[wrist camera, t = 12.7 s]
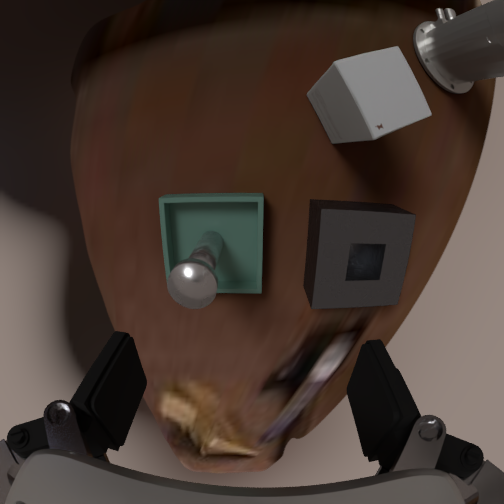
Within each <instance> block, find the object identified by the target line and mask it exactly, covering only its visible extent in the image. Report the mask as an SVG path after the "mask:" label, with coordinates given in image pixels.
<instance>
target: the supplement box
mask: <svg viewBox="0 0 504 504" xmlns="http://www.w3.org/2000/svg"><path fill="white" fill-rule="evenodd" d="M307 97H308V98H309V100H310V102H311V104H312V106H313V108H314V110H315V112H316V113H317V115H318V117H319V119H320V121H321V123H322V125H323V127H324V129H325V131H326V133H327V135H328V137H329V139H330V141H331V143H332V144H337V143H346V142H356V141H367V140H376V139H378V138H380V137H382V136H384V135H387V134H389V133H391V132H393V131H396V130H398V129H400V128H403V127H405V126H407V125H410V124H412V123H414V122H416V121H419V120H421V119H424V118H426V117H429V116H431V115H432V114H431V111H430V109H429V107H428V104H427V102H426V100H425V98H424V95H423V93H422V91H421V89H420V87H419V85H418V83H417V81H416V79H415V77H414V75H413V73H412V71H411V69H410V67H409V65H408V63H407V61H406V59H405V58H404V56H403V54H402V52H401V51H400V49H399V47H398V46H397V47H392V48H387V49H383V50H378V51H373V52H369V53H364V54H360V55H356V56H352V57H348V58H345V59H341V60H337V61H334V63H333V64H332V65H331V67H330V68H329V69H328V70H327V71H326V73H325V74H324V75H323V76H322V77H321V78H320V79H319V80H318V81H317V83H316V84H315V85H314V86H313V87H312V88H311V90H310V91H309V92H308V93H307Z"/></svg>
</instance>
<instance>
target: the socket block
mask: <svg viewBox="0 0 504 504" xmlns="http://www.w3.org/2000/svg"><path fill="white" fill-rule="evenodd" d="M415 217H416V215H415V214H413V213H411V212H409V211H406V210H404V209H402V208H400V207H397V206H395V205H392V204H380V203H367V202H352V201H335V200H314V199H310V208H309V224H308V239H307V251H306V263H305V274H304V285H303V286H304V289H305V292H306V295H307V298H308V301H309V303H310V306H311V309H327V308H351V307H369V306H384V305H397V304H398V300H399V296H400V293H401V289H402V285H403V281H404V276H405V272H406V267H407V263H408V258H409V253H410V248H411V242H412V237H413V231H414V224H415Z"/></svg>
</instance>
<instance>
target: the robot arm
mask: <svg viewBox="0 0 504 504" xmlns="http://www.w3.org/2000/svg"><path fill="white" fill-rule="evenodd" d="M444 11H445V15H446V18H447V20H448V21H447V20H445V15H444V12H443V10H442V9H436V14H437V17H438V20H437V21H436V22H430V21H429V22H424V23H422V24H420V25H419V26H418V27H417V28H416V29H415V31H414V35H413V42H414V48H415V51H416V54H417V56H418V59H419V61H420V63H421V64H422V66H423V68H424V69H425V71H426V72H427V73H428V75H429V76H430V77H431V78H432V79H433V80H434V81H435V82H436V83H437V84H438V85H439V86H440V87H442V88H443V89H445V90H446V91H449V92H451V93H455V94H461V93H466V92H467V91H469V90H470V89H471V88H472V86H473V84H474V81H477V80H483V79H489V78H496V77H503V76H504V0H493V1H491V2H488V3H486V4H484V5H481V6H479V7H477V8H474V9H472V10H470V11H468V12H466V13H463V14H461V15H459V16H457V17H456V14H455V11H454V10H452V9H445V10H444ZM146 386H147V380H146V376H145V374H144V371H143V368H142V365H141V362H140V359H139V356H138V352H137V349H136V346H135V343H134V339H133V337H130V335H129V333H125V332H118V331H115V332H114V333H113V335H112V336H111V338H110V339H109V341H108V342H107V344H106V345H105V347H104V348H103V350H102V351H101V353H100V354H99V356H98V358H97V359H96V360H95V362H94V363H93V365H92V366H91V368H90V370H89V371H88V373H87V374H86V376H85V378H84V379H83V381H82V382H81V384H80V386H79V387H78V389H77V391H76V393H75V394H74V396H73V398H72V399H71V401H70V403H69V402H67V401H64V400H56V401H54V402H51V403H50V404H49V405H47V407H46V408H45V411H44V417H42V418H39V419H36V420H33V421H30V422H26V423H23V424H19V425H16V426H14V427H13V428H11V430H10V431H9V433H8V435H7V440H6V441H5V440H4V439H3V440H1V441H0V504H504V472H502V471H501V470H500V469H499V468H497V467H496V466H495V465H494V464H492V463H491V462H490V461H488V460H486V461H484V460H483V459H484V457H483V452H482V450H481V449H480V448H479V447H478V446H476V445H474V444H472V443H469V442H467V441H464V440H461V439H459V438H456V437H454V436H451V435H449V434H446V426H445V424H444V423H443V421H442V420H441V419H440V418H438V417H436V416H433V415H425V416H422V417H421V415H420V413H419V411H418V408H417V406H416V404H415V402H414V400H413V398H412V395H411V393H410V391H409V389H408V387H407V385H406V383H405V381H404V379H403V377H402V375H401V373H400V371H399V370H398V369H397V368H395V366H394V364H393V362H392V360H391V358H390V356H389V354H388V352H387V350H386V348H385V346H384V344H383V342H382V341H381V340H380V339H379V340H368V341H366V343H365V344H363V345H362V346H361V349H360V352H359V355H358V358H357V361H356V364H355V367H354V370H353V373H352V375H351V378H350V381H349V383H348V386H347V395H348V399H349V402H350V406H351V409H352V413H353V416H354V420H355V424H356V427H357V431H358V435H359V439H360V443H361V447H362V451H363V454H364V456H365V457H367V456H368V460H369V462H371V461H375V460H378V461H379V465H380V468H379V469H378V471H377V473H376V475H375V476H370V477H365V478H360V479H355V480H349V481H342V482H336V483H329V484H320V485H311V486H300V487H278V488H250V487H247V488H246V487H229V486H218V485H208V484H200V483H192V482H186V481H180V480H175V479H169V478H164V477H160V476H154V475H151V474H147V473H143V472H139V471H135V470H131V469H128V468H124V467H121V466H118V465H114V464H111V463H110V462H109V460H108V457H107V455H106V452H107V449H108V448H110V449H113V450H116V451H118V450H119V447H120V446H123V445H124V443H125V440H126V437H127V434H128V432H129V429H130V427H131V424H132V422H133V419H134V416H135V413H136V411H137V409H138V406H139V404H140V401H141V399H142V396H143V394H144V391H145V389H146Z"/></svg>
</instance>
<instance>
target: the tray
mask: <svg viewBox="0 0 504 504" xmlns="http://www.w3.org/2000/svg"><path fill="white" fill-rule="evenodd" d="M263 202H264V196H263V193H199V194H168V195H164V196H162V197H160V198H159V208H160V222H161V233H162V244H163V253H164V262H165V270H166V278H167V280H168V277H169V274H170V273H171V271H172V270H173V268H174V267H175V265H176V264H177V263H179V262H180V261H182V260H185V259H188V258H189V256H190V255H191V253H192V251H193V250H194V248H195V246H196V245H197V243H198V241H199V240H200V238H201V236H202V235H203V234H204V233H205V232H207V231H215V232H218V233H219V234H220V235H221V236H222V238H223V247H222V250H221V253H220V256H219V259H218V263H217V266H216V269H215V272H216V274H217V277H218V288H217V292H216V293H261V292H262V252H263Z"/></svg>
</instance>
